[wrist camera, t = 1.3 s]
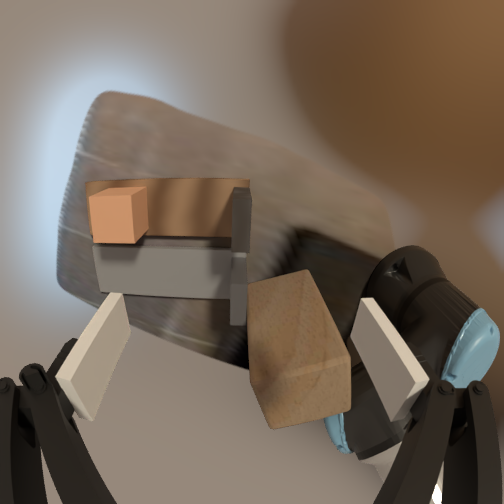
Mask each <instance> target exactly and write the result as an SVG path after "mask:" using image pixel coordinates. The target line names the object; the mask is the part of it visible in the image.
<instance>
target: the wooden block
mask: <svg viewBox="0 0 504 504" xmlns="http://www.w3.org/2000/svg"><path fill="white" fill-rule="evenodd" d="M246 311H247V331H248V352H249V371H250V383H251V386H252V388H253V390H254V393H255V395H256V398H257V400H258V402H259V405H260V407H261V409H262V412H263V414H264V416H265V419H266V421H267V423H268V425H269V427H270V429H278V428H283V427H288V426H293V425H297V424H301V423H306V422H310V421H314V420H318V419H322V418H326V417H329V416H333V415H336V414H340V413H343V412H347V411H349V410H350V409H351V357H350V355H349V353H348V350H347V348H346V346H345V344H344V342H343V340H342V338H341V335H340V333H339V331H338V329H337V327H336V325H335V323H334V321H333V319H332V316H331V314H330V312H329V310H328V308H327V306H326V304H325V302H324V300H323V298H322V296H321V294H320V292H319V290H318V288H317V286H316V284H315V282H314V280H313V278H312V276H311V274H310V272H309V270H302V271H298V272H294V273H290V274H286V275H282V276H278V277H274V278H270V279H266V280H262V281H257V282H253V283H249V284H248V288H247V310H246Z"/></svg>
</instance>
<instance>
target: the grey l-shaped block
mask: <svg viewBox="0 0 504 504" xmlns="http://www.w3.org/2000/svg"><path fill="white" fill-rule="evenodd" d="M92 249H93V255H94V261H95V266H96V272H97V277H98V282H99V287H100V291H101V292H109V293H110V292H112V293H123V294H135V295H150V296H167V297H186V298H210V299H230V325H241V326H246V310H247V288H248V282H247V265H246V253H234V252H231V248H214V247H177V246H137V245H96V244H95V245H94V246H93V247H92Z"/></svg>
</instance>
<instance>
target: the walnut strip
mask: <svg viewBox="0 0 504 504" xmlns="http://www.w3.org/2000/svg"><path fill="white" fill-rule="evenodd" d="M249 183H250V180H249V179H230V178H153V179H126V180H107V181H92V182H87V183H85V184H86V198H87V209H88V218H89V227H90V234H91V235H93V232H92V224H91V215H90V205H89V197H90V196H92V195H94V194H96V193H99V192H101V191H103V190H106V189H108V188H125V187H147V209H148V226H149V229H148V230H147V231H146V232H145V233H144V234H143V235H161V236H207V237H232V242H231V252H234V253H249V249H250V228H251V208H252V198H251V193H250V188H249Z"/></svg>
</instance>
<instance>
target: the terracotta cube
mask: <svg viewBox="0 0 504 504" xmlns="http://www.w3.org/2000/svg"><path fill="white" fill-rule="evenodd" d="M89 205H90V215H91V224H92V232H93V240H94V243H136V242H137V240H138V239H139V238H140V237H141V236H142V235H143V234H144V233H145V232H146V231H147V230H148V229H149V226H148V209H147V187H125V188H108V189H106V190H103V191H101V192H99V193H96V194H94V195H92V196H90V197H89Z"/></svg>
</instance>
